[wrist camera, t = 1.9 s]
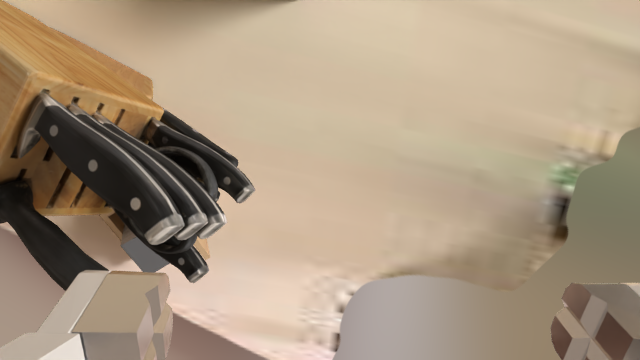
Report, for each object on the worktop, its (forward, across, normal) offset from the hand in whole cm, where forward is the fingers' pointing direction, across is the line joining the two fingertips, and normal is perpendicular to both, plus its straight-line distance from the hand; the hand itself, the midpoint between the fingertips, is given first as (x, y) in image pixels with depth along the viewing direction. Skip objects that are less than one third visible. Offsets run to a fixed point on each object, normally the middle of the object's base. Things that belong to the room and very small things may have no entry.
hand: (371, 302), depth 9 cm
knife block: (+41, -27, -7) cm, 49 cm away
